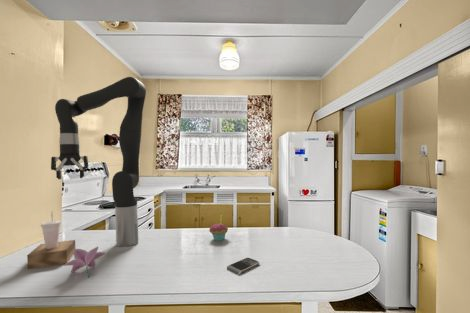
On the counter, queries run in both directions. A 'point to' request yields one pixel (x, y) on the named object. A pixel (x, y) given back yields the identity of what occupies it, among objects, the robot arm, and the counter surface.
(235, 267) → the cell phone
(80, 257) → the lily
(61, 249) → the walnut block
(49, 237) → the smoothie
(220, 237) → the cupcake
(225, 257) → the counter surface
